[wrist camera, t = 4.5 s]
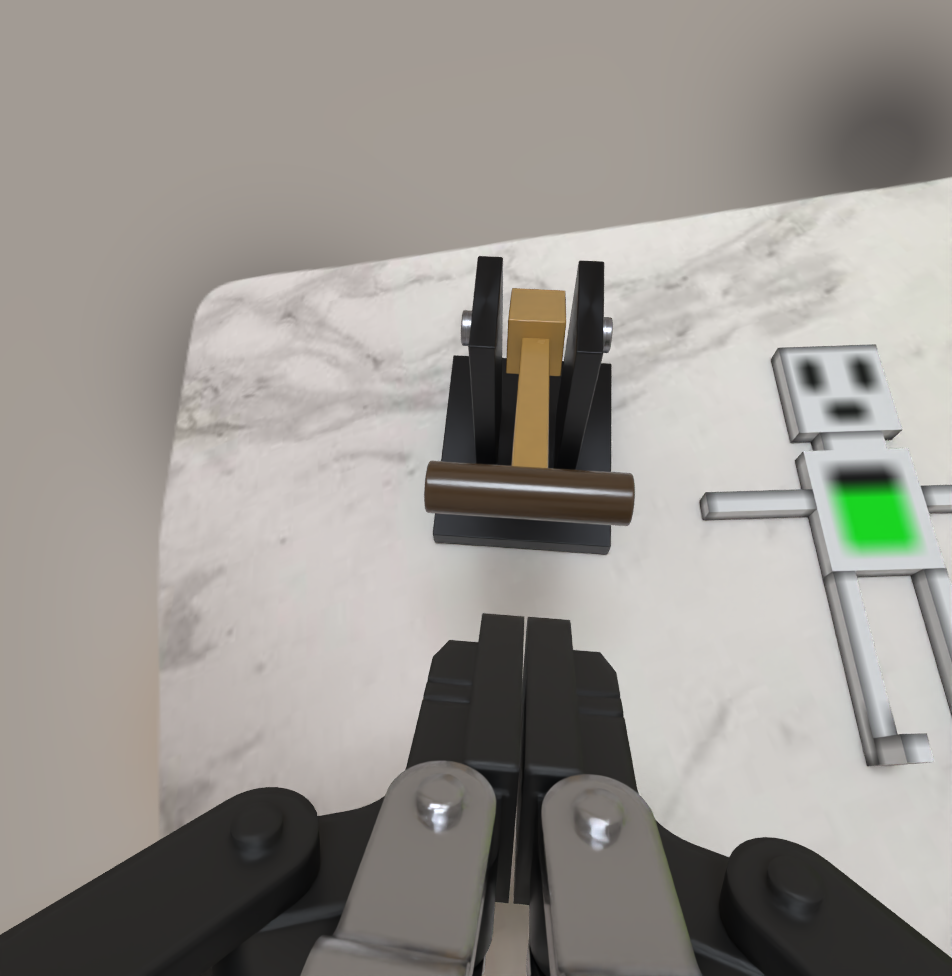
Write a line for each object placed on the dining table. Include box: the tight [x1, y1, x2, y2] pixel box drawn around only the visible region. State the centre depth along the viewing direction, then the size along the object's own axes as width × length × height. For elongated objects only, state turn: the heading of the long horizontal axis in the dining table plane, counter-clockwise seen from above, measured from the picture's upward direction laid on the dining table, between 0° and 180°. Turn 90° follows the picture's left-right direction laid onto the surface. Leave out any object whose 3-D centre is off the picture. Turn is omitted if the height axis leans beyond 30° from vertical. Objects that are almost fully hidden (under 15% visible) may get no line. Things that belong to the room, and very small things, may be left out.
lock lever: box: [424, 288, 635, 526], centre depth 24 cm, size 12×6×2 cm, turn 175°
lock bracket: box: [433, 256, 613, 554], centre depth 32 cm, size 11×9×13 cm
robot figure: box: [700, 344, 952, 766], centre depth 34 cm, size 16×3×22 cm
